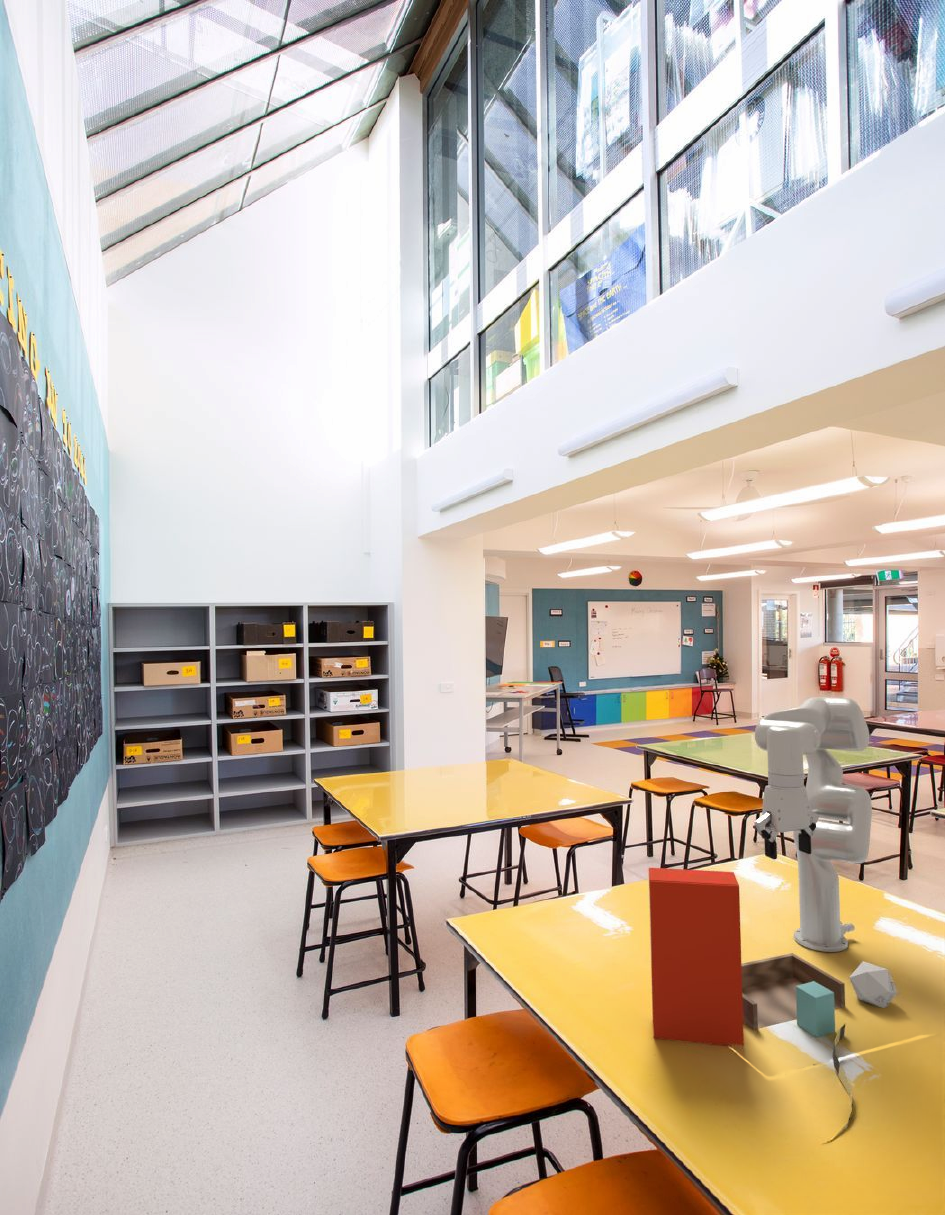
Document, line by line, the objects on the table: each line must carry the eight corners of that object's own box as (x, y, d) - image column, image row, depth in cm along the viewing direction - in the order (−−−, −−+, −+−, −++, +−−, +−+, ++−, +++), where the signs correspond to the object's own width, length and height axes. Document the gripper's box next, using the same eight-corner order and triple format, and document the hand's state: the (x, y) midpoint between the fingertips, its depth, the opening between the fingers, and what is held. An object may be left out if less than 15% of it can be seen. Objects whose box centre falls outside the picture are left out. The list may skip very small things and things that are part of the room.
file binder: (744, 1049, 139) (739, 885, 140) (653, 1039, 143) (649, 880, 143) (737, 1026, 147) (733, 871, 147) (652, 1017, 150) (648, 866, 151)
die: (868, 1018, 150) (898, 986, 148) (835, 982, 156) (863, 951, 155) (882, 1018, 154) (912, 987, 153) (850, 984, 161) (877, 953, 159)
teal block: (815, 1019, 148) (813, 981, 148) (835, 1032, 143) (834, 992, 143) (797, 1025, 146) (795, 986, 146) (816, 1038, 141) (815, 997, 141)
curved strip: (873, 1051, 138) (874, 1032, 138) (835, 1175, 108) (835, 1150, 108) (839, 1039, 142) (839, 1020, 142) (792, 1156, 111) (792, 1131, 111)
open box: (793, 977, 166) (792, 953, 166) (845, 1009, 152) (844, 983, 152) (707, 996, 159) (707, 970, 159) (754, 1032, 144) (753, 1004, 144)
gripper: (803, 773, 168) (805, 845, 168) (743, 780, 163) (746, 854, 163) (828, 780, 161) (830, 855, 161) (766, 787, 156) (769, 865, 155)
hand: (788, 855), depth 162 cm, fingers open, 9 cm apart
